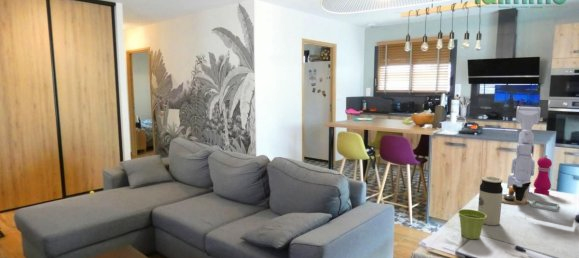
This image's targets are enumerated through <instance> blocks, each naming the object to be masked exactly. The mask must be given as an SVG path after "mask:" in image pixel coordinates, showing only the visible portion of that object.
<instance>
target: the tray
mask: <svg viewBox="0 0 579 258" xmlns="http://www.w3.org/2000/svg"><path fill="white" fill-rule="evenodd" d="M535 203H538V204H544V205H549V206H554V207H555V208H553V207H549V206H548V207H547V206H544V205H543V206H542V205H537V204H535ZM530 205H531V206H530V207H531V208H535V209H539V210H544V211H545V210H546V211H551V212H555V213H557V212H558V209H559V207H560V204H559V203H557V202H551V201H545V200H539V199H534V200H533V201H532V203H531V204H530Z"/></svg>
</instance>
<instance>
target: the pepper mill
mask: <svg viewBox="0 0 579 258" xmlns="http://www.w3.org/2000/svg"><path fill="white" fill-rule="evenodd" d="M552 165H553V162H552V160H551V159H550V158H548V155H547V154H543V156H542V157H540V158H539V159H538V160H537V171H538V175H537V176H536V178H535V180H534V181H533V186H534V191H533V193H534V194H536V195H537V194H538V195H543V196H550V191H549V190H550V189H551V188H552V183H551V180H550V175H549V173H550V171H551V167H552Z"/></svg>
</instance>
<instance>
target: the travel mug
mask: <svg viewBox="0 0 579 258" xmlns="http://www.w3.org/2000/svg"><path fill="white" fill-rule="evenodd" d="M480 179H481V183H480V185H479V192H478V194H479V195H478V206H477V211H479V212H482V213H484V214H486V215H487V217H486V218H485V221H484V223H483V225H486V226H498V225H500V223H501V215H502V214H501V213H502V204H503V203H502V194H503V192H504V191H503V188H504V187H503V186H502V183H503V181H504V180H503V178H499V177H495V176H482V177H480Z"/></svg>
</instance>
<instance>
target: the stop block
mask: <svg viewBox="0 0 579 258" xmlns="http://www.w3.org/2000/svg"><path fill="white" fill-rule="evenodd" d="M514 196H515V195H514ZM527 196H528V192H527V189H526V191H525V193H524V196H523V199H522V201H517V200H516V196H515V200H514V202H518V203H523V204H525V202H526V200H527Z"/></svg>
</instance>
